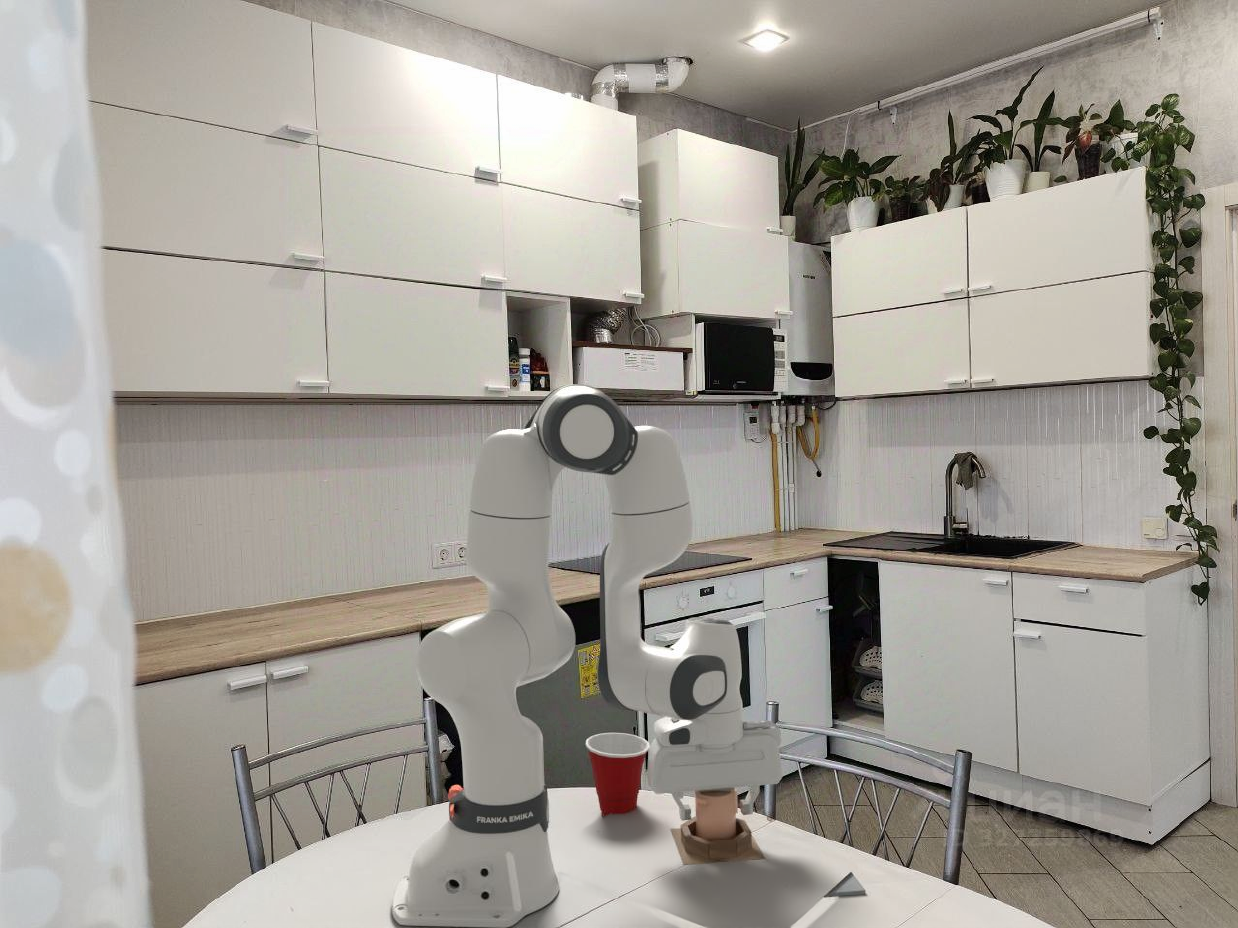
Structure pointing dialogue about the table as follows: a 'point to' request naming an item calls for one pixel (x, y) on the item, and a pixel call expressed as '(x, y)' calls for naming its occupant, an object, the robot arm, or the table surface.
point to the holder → (715, 845)
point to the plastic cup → (617, 770)
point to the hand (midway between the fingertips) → (716, 816)
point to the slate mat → (847, 887)
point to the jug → (716, 814)
